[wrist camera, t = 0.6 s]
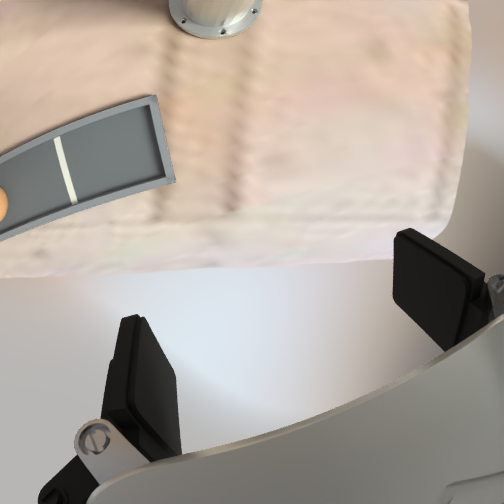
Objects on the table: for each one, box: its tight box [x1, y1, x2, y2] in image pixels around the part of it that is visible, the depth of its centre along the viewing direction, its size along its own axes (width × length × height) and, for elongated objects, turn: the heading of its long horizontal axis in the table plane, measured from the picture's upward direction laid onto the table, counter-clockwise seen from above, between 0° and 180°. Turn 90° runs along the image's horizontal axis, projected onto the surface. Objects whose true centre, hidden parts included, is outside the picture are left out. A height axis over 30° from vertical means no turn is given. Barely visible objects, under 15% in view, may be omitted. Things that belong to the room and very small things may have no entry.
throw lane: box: [0, 95, 176, 242], centre depth 35 cm, size 12×35×2 cm, turn 100°
